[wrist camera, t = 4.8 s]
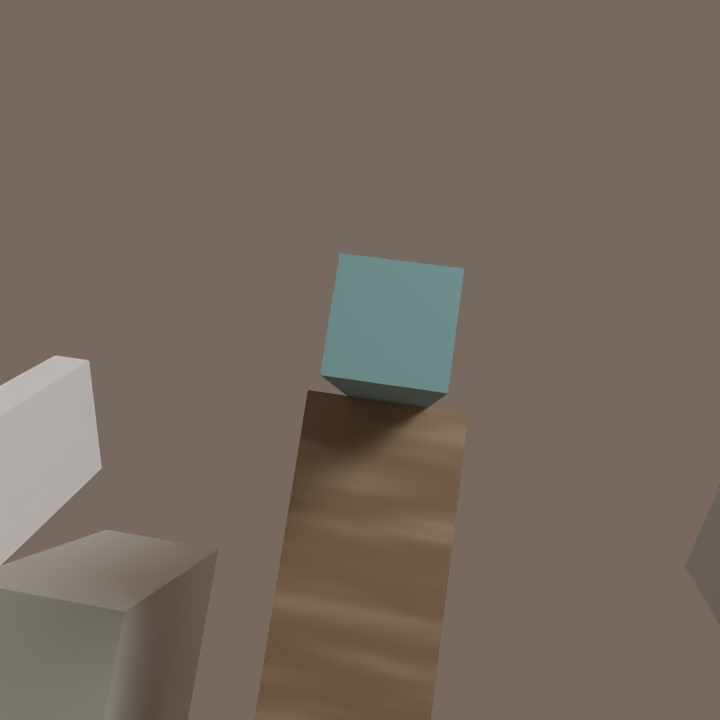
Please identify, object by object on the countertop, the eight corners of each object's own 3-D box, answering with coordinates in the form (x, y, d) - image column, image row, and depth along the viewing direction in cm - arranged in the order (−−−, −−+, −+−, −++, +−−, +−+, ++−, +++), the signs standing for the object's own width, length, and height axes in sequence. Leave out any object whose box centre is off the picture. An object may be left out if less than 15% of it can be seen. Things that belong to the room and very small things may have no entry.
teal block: (447, 393, 14) (464, 268, 15) (320, 374, 14) (339, 253, 15) (413, 417, 38) (420, 369, 38) (365, 410, 38) (373, 363, 39)
